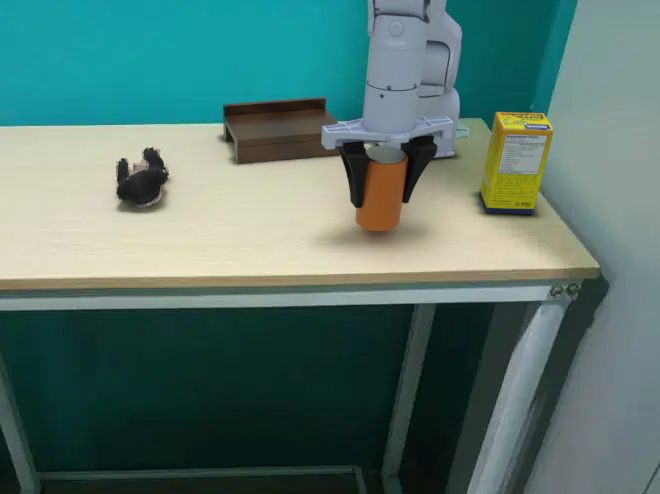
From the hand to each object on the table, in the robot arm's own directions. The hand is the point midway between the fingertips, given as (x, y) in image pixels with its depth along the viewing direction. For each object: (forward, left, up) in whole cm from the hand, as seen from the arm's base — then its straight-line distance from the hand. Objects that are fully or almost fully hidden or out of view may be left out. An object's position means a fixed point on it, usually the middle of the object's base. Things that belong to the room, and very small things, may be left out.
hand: (379, 202), depth 86 cm
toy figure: (+26, -19, -4) cm, 32 cm away
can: (0, 0, -2) cm, 2 cm away
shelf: (+4, -30, -4) cm, 30 cm away
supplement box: (-19, -4, -4) cm, 20 cm away
